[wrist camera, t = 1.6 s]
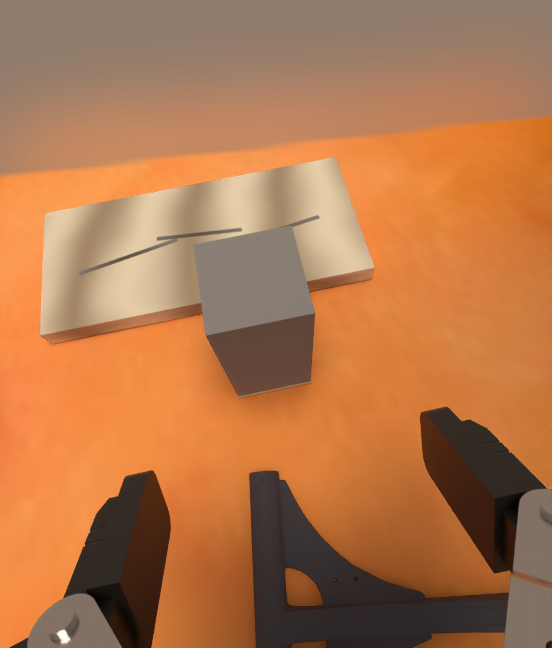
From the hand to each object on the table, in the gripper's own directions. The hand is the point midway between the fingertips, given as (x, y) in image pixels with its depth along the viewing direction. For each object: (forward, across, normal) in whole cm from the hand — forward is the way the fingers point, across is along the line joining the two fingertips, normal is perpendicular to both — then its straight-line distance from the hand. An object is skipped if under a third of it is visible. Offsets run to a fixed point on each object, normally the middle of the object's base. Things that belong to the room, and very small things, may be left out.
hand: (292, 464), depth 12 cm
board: (+21, +3, -3) cm, 21 cm away
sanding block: (+14, 0, +3) cm, 15 cm away
